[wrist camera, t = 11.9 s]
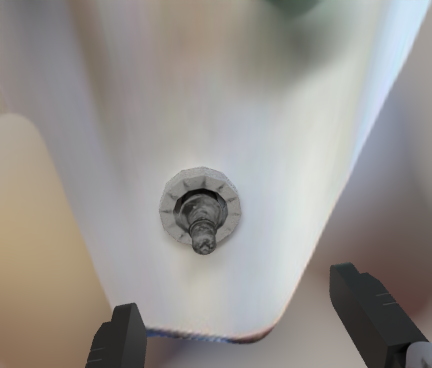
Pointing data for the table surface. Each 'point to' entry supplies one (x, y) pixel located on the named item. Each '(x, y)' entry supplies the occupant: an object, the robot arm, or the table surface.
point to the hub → (193, 181)
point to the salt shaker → (201, 218)
